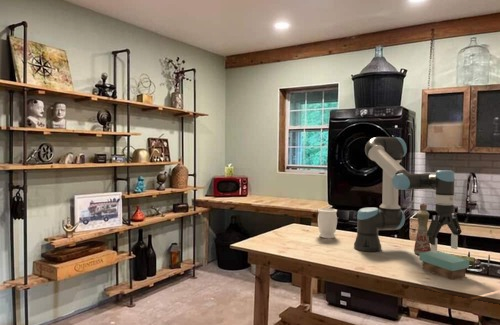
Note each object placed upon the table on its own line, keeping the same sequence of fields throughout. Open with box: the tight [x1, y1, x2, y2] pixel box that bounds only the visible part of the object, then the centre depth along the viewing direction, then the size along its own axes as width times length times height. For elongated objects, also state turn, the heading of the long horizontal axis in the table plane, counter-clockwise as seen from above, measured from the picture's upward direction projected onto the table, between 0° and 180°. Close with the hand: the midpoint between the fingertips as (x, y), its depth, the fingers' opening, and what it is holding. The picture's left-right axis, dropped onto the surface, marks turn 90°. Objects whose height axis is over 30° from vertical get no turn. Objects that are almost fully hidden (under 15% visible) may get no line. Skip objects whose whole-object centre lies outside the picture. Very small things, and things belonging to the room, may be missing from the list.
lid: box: [418, 250, 470, 271], centre depth 166 cm, size 17×11×4 cm, turn 25°
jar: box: [317, 207, 338, 239], centre depth 238 cm, size 13×12×18 cm
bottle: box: [413, 203, 431, 255], centre depth 198 cm, size 9×9×28 cm
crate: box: [422, 261, 466, 281], centre depth 166 cm, size 15×9×7 cm, turn 25°
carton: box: [446, 252, 476, 266], centre depth 182 cm, size 8×16×4 cm, turn 55°
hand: (444, 250), depth 166 cm, fingers open, 13 cm apart
